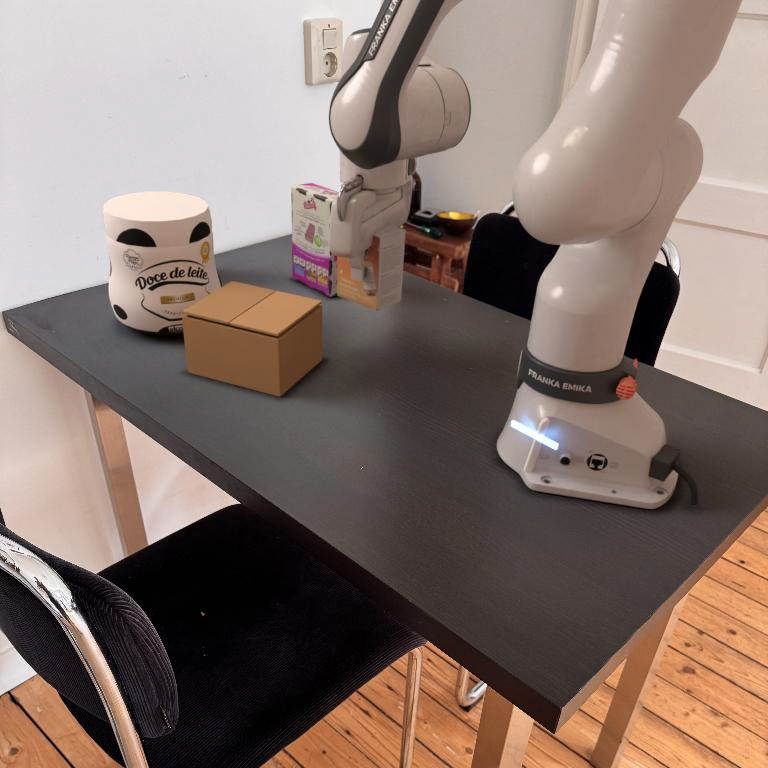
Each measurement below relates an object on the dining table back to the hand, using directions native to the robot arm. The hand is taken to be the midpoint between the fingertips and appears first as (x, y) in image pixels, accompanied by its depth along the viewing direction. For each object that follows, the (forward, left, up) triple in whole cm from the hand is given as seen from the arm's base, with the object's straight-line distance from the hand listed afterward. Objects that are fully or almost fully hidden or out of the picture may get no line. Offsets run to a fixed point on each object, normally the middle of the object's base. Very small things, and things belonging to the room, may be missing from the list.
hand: (370, 270), depth 113 cm
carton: (+12, +12, -13) cm, 21 cm away
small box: (0, 0, -4) cm, 4 cm away
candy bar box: (+18, -21, -13) cm, 31 cm away
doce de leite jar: (+32, +5, -13) cm, 35 cm away
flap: (+9, +12, -4) cm, 15 cm away
